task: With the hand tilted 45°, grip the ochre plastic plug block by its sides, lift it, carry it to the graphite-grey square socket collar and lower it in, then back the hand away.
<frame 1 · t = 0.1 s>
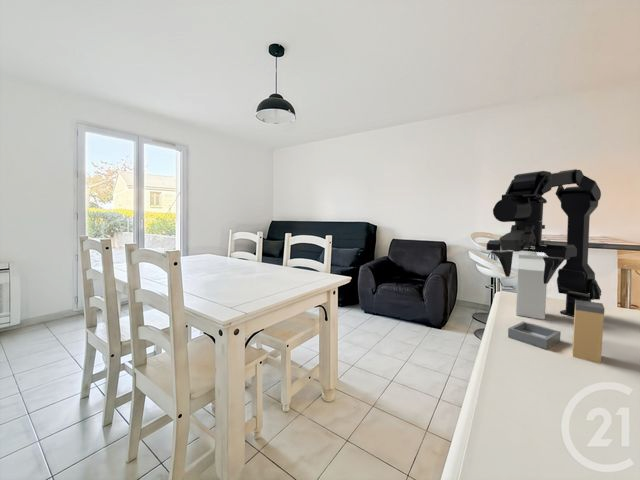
hand: (525, 279, 73), 15 cm above the counter, tool pointing down, fingers open, 9 cm apart
socket collar: (533, 338, 70), on the counter
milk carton: (529, 314, 87), on the counter
plug: (585, 355, 62), on the counter
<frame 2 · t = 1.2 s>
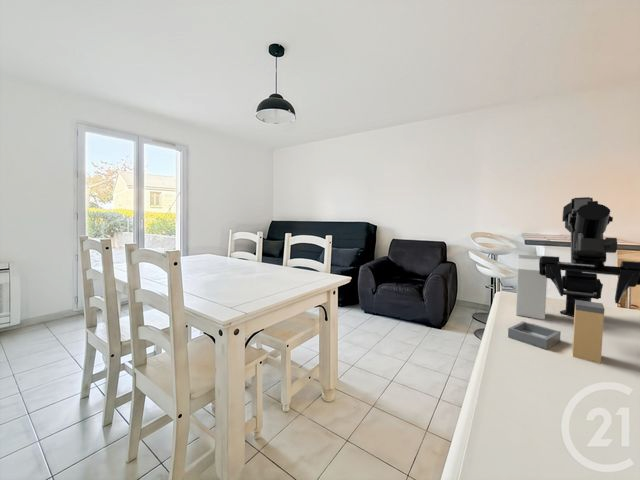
hand: (588, 298, 64), 12 cm above the counter, tool tilted 45°, fingers open, 9 cm apart
nothing on the counter moved.
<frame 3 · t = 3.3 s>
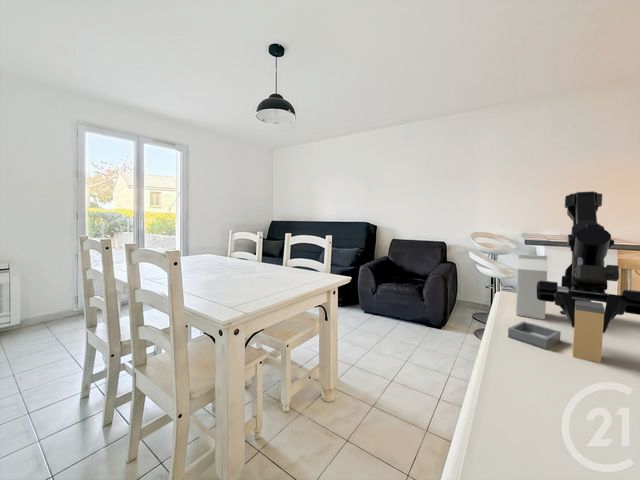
hand: (588, 329, 60), 7 cm above the counter, tool tilted 45°, fingers closed on plug, 4 cm apart
plug: (585, 355, 62), on the counter, touching gripper
everything else where it was.
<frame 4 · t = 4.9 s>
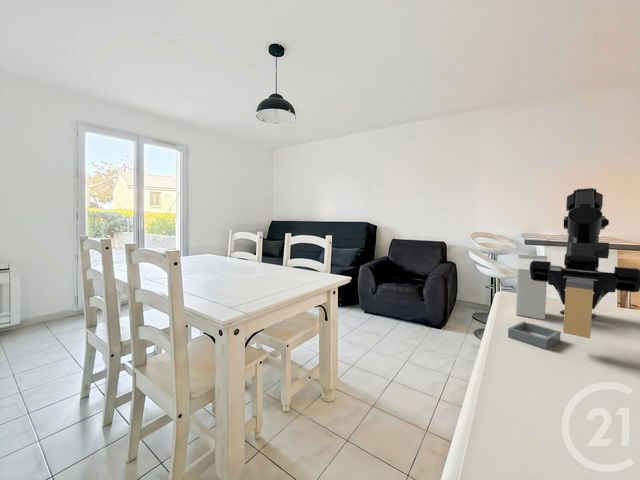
hand: (578, 305, 61), 11 cm above the counter, tool tilted 45°, fingers closed on plug, 4 cm apart
plug: (576, 332, 63), point 5 cm above the counter, touching gripper
everything else where it was.
when the fingers open (8 cm above the counter, at t = 6.7 s): plug drops 1 cm, resting on socket collar.
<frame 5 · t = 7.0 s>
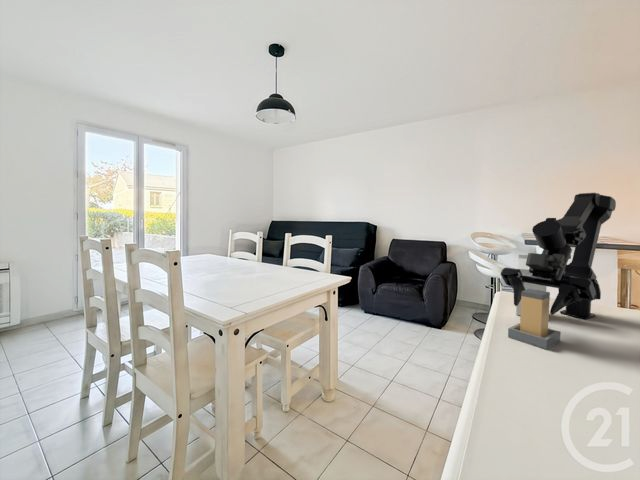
hand: (532, 309, 69), 8 cm above the counter, tool tilted 45°, fingers open, 7 cm apart
plug: (533, 337, 70), resting on socket collar
everything else where it was.
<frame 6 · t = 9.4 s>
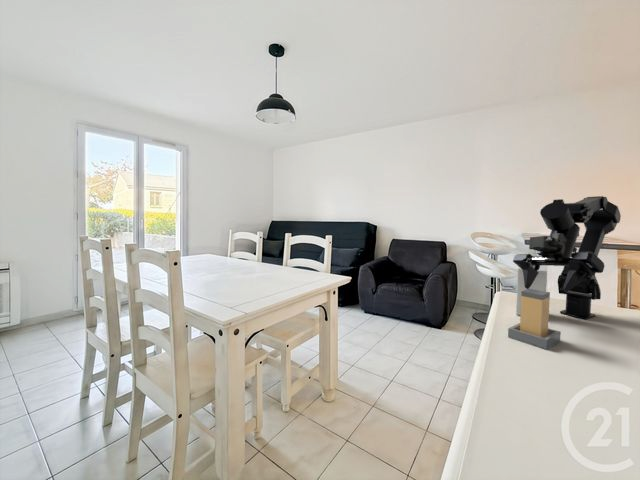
hand: (544, 289, 72), 12 cm above the counter, tool tilted 40°, fingers open, 9 cm apart
nothing on the counter moved.
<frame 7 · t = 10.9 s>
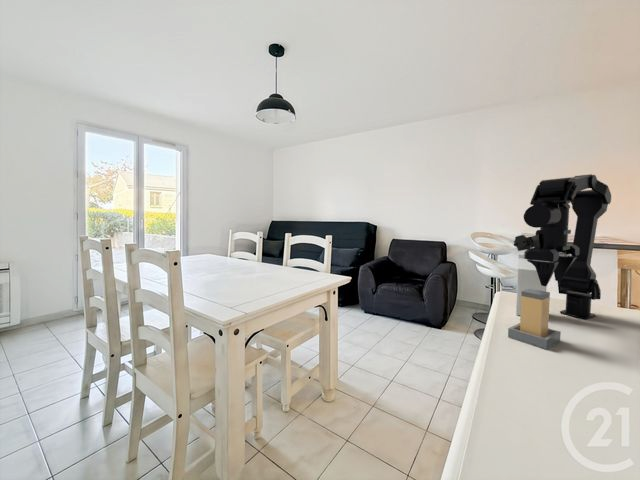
hand: (551, 283, 75), 13 cm above the counter, tool pointing down, fingers open, 9 cm apart
nothing on the counter moved.
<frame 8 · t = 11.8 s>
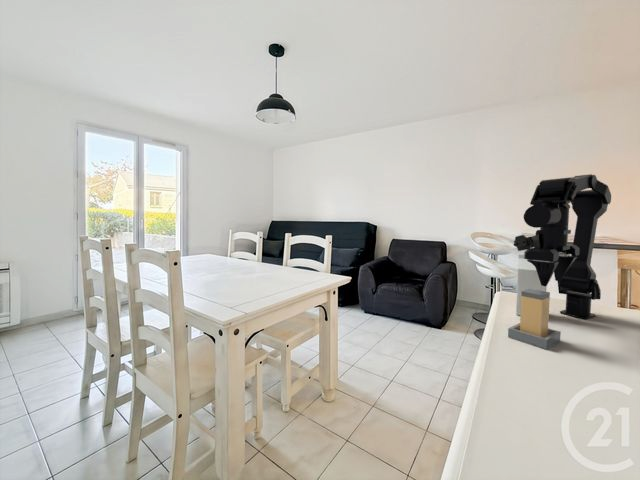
hand: (551, 283, 75), 13 cm above the counter, tool pointing down, fingers open, 9 cm apart
nothing on the counter moved.
at the end: plug 0.0 cm off-centre on the socket collar, point 0.4 cm above the socket collar's base; plug tilted 0°; the gripper is holding nothing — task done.
